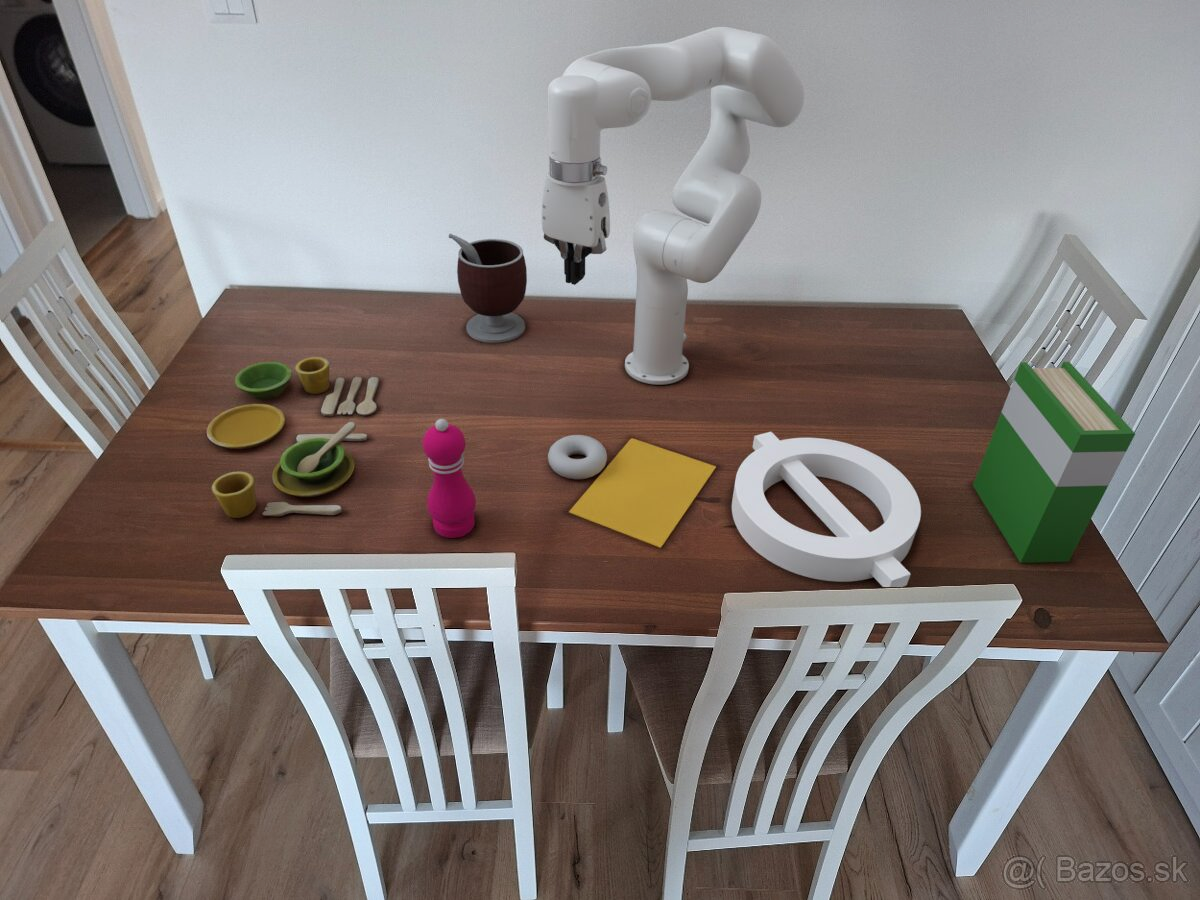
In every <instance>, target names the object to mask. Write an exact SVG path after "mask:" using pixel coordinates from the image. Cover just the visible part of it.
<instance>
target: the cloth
mask: <svg viewBox="0 0 1200 900" xmlns="http://www.w3.org/2000/svg"><path fill="white" fill-rule="evenodd" d="M716 468H717V466H716V465H713V464H710V463H707V462H704V461H702V460H698V459H695V458H692V457H689V456H686V455H684V454H680V453H677V452H675V451H671V450H668V449H665V448H662V447H660V446H656V445H654V444H651V443H649V442H645V441H642V440H639V439H635V438H633V437H631V438H630V439H629V440H628V441H627V443H626V444H625V445H624V446H623V447H622V449H620V451H619V452H617V454H616V455H615V457H613V459H612V460H611V461H610V463H608V465H607V466H605V468H604V469H603V470H602V471H601V472H600V474H599V475H598V477H596V479H595V480H594V481H593V482H592V484H591V485H590V486H589V487H588V489H587V490H586V491H585V492H584V493H583V495H581V497H580V498H579V499H578V500H577V501H576V503H574V505H573V506H572V507H571V508H570V510H569V511H568V514H571V515H574V516H576V517H579V518H581V519H584V520H587V521H589V522H591V523H594V524H597V525H599V526H603V527H604V528H606V529H610V530H612V531H615V532H618V533H621V534H624V535H626V536H628V537H630V538H633V539H635V540H638V541H641V542H643V543H646V544H648V545H650V546H651V545H652V546H654V547H656V548H659V549H662V547H663V546H664V544H665V543H666V541H667V540H668V539H669V536H671V534H672V533H673V531H674V530H675V528H676V527H677V525H678V524H679V522H680V521H681V520H682V518H683V516H684V515H685V514H686V512H687V511H688V509H689V508H690V506H691V505H692V504H693V502H694V500H695V499H696V498H697V496H698V495H699V493H700V492H701V490H702V489H703V487H704V486H705V484H706V483H707V482H708V480H709V478H710V477H711V475H712V474H713V472H714V471H715V470H716Z"/></svg>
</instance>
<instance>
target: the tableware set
mask: <svg viewBox="0 0 1200 900" xmlns="http://www.w3.org/2000/svg"><path fill="white" fill-rule="evenodd" d="M294 368H295V369H294V370H295V371H296V374H297V376H298V379H299V380H300V383H301V385H302V387H303V389H304V391H305V392H306V393H308V394H311V395H318V394H322V393H325V392H327V390H329V388H330V385H331V384H330V383H331V381H330V362H329V360H328V359H327V358H325V357H321V356H311V357H307V358H303V359H302V360H300V361H298V362H297V363H296V364H295V367H294ZM292 376H293V370H292V368H291V367H290V366H289V365H287V364H285V363H283V362H280V361H262V362H258V363H253V364H251V365H249V366H245V368H243V369H242V370H240V371H238V373H237V374H236V376H235V378H234V384H235V386H236V387H237V388H238V389H239V390H241V391H242V392H245V393H246V394H248V396H250V397H252V398H253V399H256V400H271V399H273V398H276V397H278V396H280V395H281V394H282V393H283V392H284V391H285V389H286V387H287V384H288V383H289V382H290V381H291V379H292ZM379 382H380V380H379V377H376V376H371V377H369V378H368V380H367V387H366V391H365V392H366V393H365V396H364V400H363V401H361V402H360V403H359V404H357V405H356V403H355V402H354V401H355V398H356V397H357V394H358V393H359V391H360V388H361V385H362V383H363V379H362V377H361V376H355V377H353V378H352V380H351V384H350V387H349V390H348V393H347V397H346V399H345V400H344V401H343V402H341V403H340V404H339V406H338V403H339V401H340V398H341V395H342V392H343V389H344V386H345V383H346V381H345V378H344V377H337V378H336V380H335V382H334V383H335V384H334V388H333V392H332V393H329V394H328V395H326V396H325V398H324V400H323V403H322V406H321V409H320V413H321V415H322V416H325V417H333V416H334V415H335V412H336V410H337V413H336V415H338V416H341V415H343V416H347V415H348V416H353V414H354V413H355V411H356V413H357V414H358V415H360V416H369V415H372V414H374V413H375V412H376V411H377V410H378V407H377V403H376V402H374V398H375V394H376V391H377V389H378V386H379ZM337 407H338V409H337ZM285 421H286V418H285V414H284V412H283V411H282V410H281V409H279V408H278V407H275V406H274V405H271V404H265V403H250V404H249V403H248V404H242V405H238V406H235V407H232V408H230V409H227V410H225V411H223V412H221V413H219V414H217V416H215V417H214V418H213V419H212V420H211V421H210V423H209V424H208V425H207V429H206V434H207V438H208V440H209V441H211V442H212V443H213V444H214V445H216V446H219V447H222V448H225V449H230V450H245V449H252V448H255V447H258V446H261V445H263V444H266V443H267V442H270V441H271V440H272V439H274V438H275V437H276V436H277V435H278V434H279V433H280V432H281V430H282V429H283V427H284V425H285V423H286V422H285ZM356 428H357V424H356V423H355V422H354V421H348V422H347V423H346V424H344V425H343V426H342V427H341V428H340V429H339V430H338V431H337V432H336V433H309V434H308V433H307V434H305V433H304V434H303V433H302V434H298V435H297V436H296V438H295V439H296V443H294V444H292V445H291V446H289V447H288V448H287V449H285V450H284V452H283V453H282V454H281V456H280V459H279V461H278V462H277V464H276V465H275V467H274V468H273V471H272V475H271V476H272V478H271V479H272V482H273V485H275V487H276V489H278V490H279V491H281V492H283V493H285V494H287V495H290V496H294V497H297V498H315V497H319V496H324V495H327V494H329V493H331V492H334V491H336V490H337V489H338V488H340V487H341V486H342V485H344V483H346V482H347V481H348V480H349V479H350V477H351V476H352V474H353V473H354V470H355V460H354V458H353V456H352V454H351V453H349V452H348V451H346V450H345V448H344V446H343V445H342V444H341V442H343V441H344V442H364V441H365V442H366V441H367V439H368V435H367V434H366V433H353V432H354V431H355V430H356ZM211 491H212V493H213V494H214V496H215V498H216V499H217V502H218V504H220V506H221V508H222V510H223V511H224V513H225V514H226V515H227V517H230V518H231V519H232V518H233V519H240V518H241V519H242V518H244V517H247V516H249V515H251V514H252V513H253V511H255V509H256V508H257V496H256V485H255V478H254V476H253V475H252V474H251V473H249V472H246V471H240V470H239V471H231V472H227V473H224V474H223V475H221V476H219V477H217V478H216V479H215V480H214V481H213V483H212V485H211ZM342 512H343V509H342V506H341V505H338V504H326V505H325V504H322V505H321V504H320V505H319V504H318V505H317V504H316V505H313V504H311V505H309V504H308V505H305V504H304V505H293V504H290V503H289V502H286V501H274V502H268V503H267V504H266V507H265V508H264V511H263V512H262V516H264V517H283V516H285V515H288V514H295V513H296V514H308V515H323V516H335V515H339V514H341V513H342Z"/></svg>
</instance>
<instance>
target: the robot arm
mask: <svg viewBox="0 0 1200 900" xmlns="http://www.w3.org/2000/svg"><path fill="white" fill-rule="evenodd" d="M707 90H710V124H709V128H708V129H709V130H708V133H707V135H706V138H705V140H704V141H703V143H702V144H701V146H700V148H699V149H698V150H697V152H696V154H695V155H694V156H693V158H692V159H691V161H690V162H689V163H688V165H687V166H686V167H685V169H684V171H683V172H682V174H681V175H680V177H679V178H678V180H677V181H676V183H675V185H674V187H673V190H672V193H671V199H672V204H673V206H674V207H675V208H676V210H677V211H679V212H680V213H682V214H683V215H685V216H683V215H681V214H677V213H675V212H672V211H668V210H663V209H656V210H651V211H647V212H646V213H644V214H643V215H642V216H641V217H640V218H639V219H638V221H637V222H636V225H635V227H634V230H633V234H632V235H633V236H632V247H633V253H634V260H635V268H636V289H635V290H636V291H635V312H634V326H633V327H634V329H633V349H632V351H631V352H630V353H629V354H627V356H626V357H625V360H624V368H625V371H626V373H627V374H628V375H629V376H630V377H631V378H633V379H634V380H636V381H638V382H641V383H644V384H647V385H655V386H660V385H661V386H662V385H669V384H675V383H677V382H679V381H681V380H682V379H684V378H685V377H686V376H687V375H688V372H689V368H690V363H689V360H688V358H687V357H686V356H685V355H684V354H683V347H684V342H685V341H686V340H687V338H688V337H687V334H686V333H685V325H686V316H687V315H686V314H687V302H688V295H689V294H688V293H689V286H688V285H689V284H688V280H689V281H692V282H694V283H698V284H707V283H709V282H711V281H713V280H714V279H716V278H717V276H719V274H720V273H721V272H722V271H723V269H724V268H725V267H726V265H727V264H728V262H729V261H730V259H731V258H732V256H733V255H734V254H735V252H736V250H737V249H738V248H739V246H740V245H741V243H742V242H743V241H744V239H745V237H746V236H747V235H748V233H749V231H751V228H752V227H753V226H754V224H755V222H756V220H757V218H758V215H759V212H760V209H761V204H762V192H761V188H760V186H759V185H758V183H757V182H756V181H754V180H753V179H752V178H750V177H748V176H746V175H743V174H741V173H742V171H743V169H744V168H745V167H746V165H747V163H748V161H749V158H750V155H751V143H750V138H749V133H748V128H747V121H750V122H754V123H758V124H760V125H761V124H762V125H765V126H768V127H772V128H784V127H788V126H790V125H791V124H792V123H794V122H795V121H796V120H797V119H798V117H799V116H800V115H801V113H802V110H803V107H804V102H805V89H804V85H803V82H802V79H801V78H800V76H799V73H798V72H797V71H796V69H795V67H793V65H792V63H791V61H790V60H789V58H788V56H787V55H786V54H785V52H784V51H783V50H782V48H781V47H780V46H779V44H777V42H776V41H775V40H774V39H772V38H771V37H769V36H768V35H766V34H763V33H758V32H754V31H749V30H743V29H739V28H734V27H730V26H715V27H710V28H708V29H704V30H702V31H699V32H695V33H693V34H690V35H687V36H684V37H682V38H678V39H675V40H672V41H669V42H661V43H649V44H642V45H641V44H640V45H633V46H632V45H631V46H623V47H614V48H608V49H604V50H599V51H596V52H593V53H590V54H587V55H584V56H581V57H579V58H577V59H576V60H574V61H573V62H571V63H570V64H569V65H568V66H567V68H566V69H565V70H564V72H563V73H562V76H558V77H556V78H554V79H552V80H551V81H550V82H549V84H548V88H547V123H548V124H547V129H548V130H547V133H548V137H547V138H548V170H549V171H548V172H547V173H546V174H545V177H544V183H543V189H542V198H541V199H542V200H541V229H542V233H543V239H544V241H547V242H548V243H551V244H552V245H554V246H555V248H557V250H558V251H559V254H560V258H561V259H562V260H563V270H564V271H563V273H564V275H565V283H566V284H571V285H573V286H575V285H577V284H579V283H580V282H581V281H582V280H583V279H584V278H585V276H586V257H589V255H602V254H604V253H605V252H606V251H607V244H606V239H607V238H609V237H610V235H611V216H610V215H611V214H610V199H609V192H608V187H607V182H606V178H605V176H606V175H607V174H608V166H607V165H604V164H602V157H601V131H602V130H604V129H605V130H606V129H617V128H618V129H619V128H627V127H631V126H634V125H636V124H638V123H639V122H640V121H641V120H642V119H643V118H644V117H645V116H646V115H647V113H648V112H649V109H650V107H651V104H652V101H658V102H678V101H683V100H686V99H688V98H690V97H693V96H695V95H697V94H700V93H702V92H705V91H707ZM746 120H747V121H746ZM686 216H687V217H686ZM693 219H695V220H693ZM696 220H697V221H696ZM698 221H699V222H698ZM703 223H706V224H707V225H706V224H703Z"/></svg>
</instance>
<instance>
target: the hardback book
mask: <svg viewBox="0 0 1200 900" xmlns="http://www.w3.org/2000/svg"><path fill="white" fill-rule="evenodd" d="M997 419H998V420H997V422H996V425H995V428H994V429H993V432H992V435H991V438H990V439H989V443H988V445H987V448H986V450H985V453H984V456H983V458H982V461H981V462H980V463H981V464H980V466H979V468H978V471H977V473H976V476H975V479H974V481H973V484H972V487H973V488H974V490H975V491H976V493H977V495H978V496H979V498H980V499H981V501H982V503H983V505H984V506H985V508H986V509H987V511H988V513H989V515H990V516H991V518H992V519H993V521H994V522H995V524H996V525H997V527H998V530H999V531H1000V532H1001V534H1002V535H1003V538H1005V540H1006V542H1007V543H1008V545H1009V547H1010V549H1011V550H1012V551H1013V553H1014V555H1015V556H1016V558H1017V560H1018V561H1019V563H1021V564H1025V563H1026V564H1027V563H1028V564H1029V563H1030V564H1033V563H1066V562H1067V563H1068V562H1070V560H1071V558H1072V556H1073V554H1074V553H1075V551H1076V549H1077V547H1078V544H1079V543H1080V541H1081V539H1082V537H1083V535H1084V533H1085V531H1086V530H1087V528H1088V525H1089V524H1090V522H1091V520H1092V518H1093V516H1094V514H1095V512H1096V510H1097V509H1098V506H1099V504H1100V502H1101V501H1102V499H1103V497H1104V495H1105V493H1106V491H1107V489H1108V487H1109V486H1110V484H1111V482H1112V480H1113V478H1114V476H1115V474H1116V472H1117V470H1118V468H1119V466H1120V465H1121V462H1122V461H1123V458H1124V457H1125V455H1126V453H1127V451H1128V449H1129V447H1130V445H1131V443H1132V441H1133V439H1134V438H1135V436H1136V432H1135V431H1134V430H1133V429H1132V427H1130V426H1129V425H1128V424H1127V423H1126V421H1125V420H1123V418H1122V417H1121V416H1120V415H1119V414H1118V413H1117V412H1116V411H1115V410H1114V409H1113V407H1112V406H1111V404H1109V403H1108V402H1107V401H1106V399H1104V398H1103V396H1102V395H1101V394H1100V393H1099V392H1098V390H1096V389H1095V388H1094V387H1093V386H1092V384H1090V382H1089V381H1088V380H1087V379H1086V378H1085V377H1084V376H1083V375H1082V373H1080V372H1079V371H1078V370H1077V368H1076V367H1075V366H1074V365H1073V364H1072V363H1071V362H1070V361H1062V364H1061V366H1060V367H1055V368H1054V367H1046V368H1045V367H1043V368H1041V367H1038V368H1037V367H1036V368H1033V367H1031V366H1030V364H1029V362H1026V361H1023V362H1020V363H1019V366H1018V368H1017V370H1016V373H1015V376H1014V379H1013V381H1012V384H1011V386H1010V388H1009V391H1008V394H1007V397H1006V399H1005V402H1004V404H1003V407H1002V409H1001V412H1000V414H999V416H998V418H997Z"/></svg>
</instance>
